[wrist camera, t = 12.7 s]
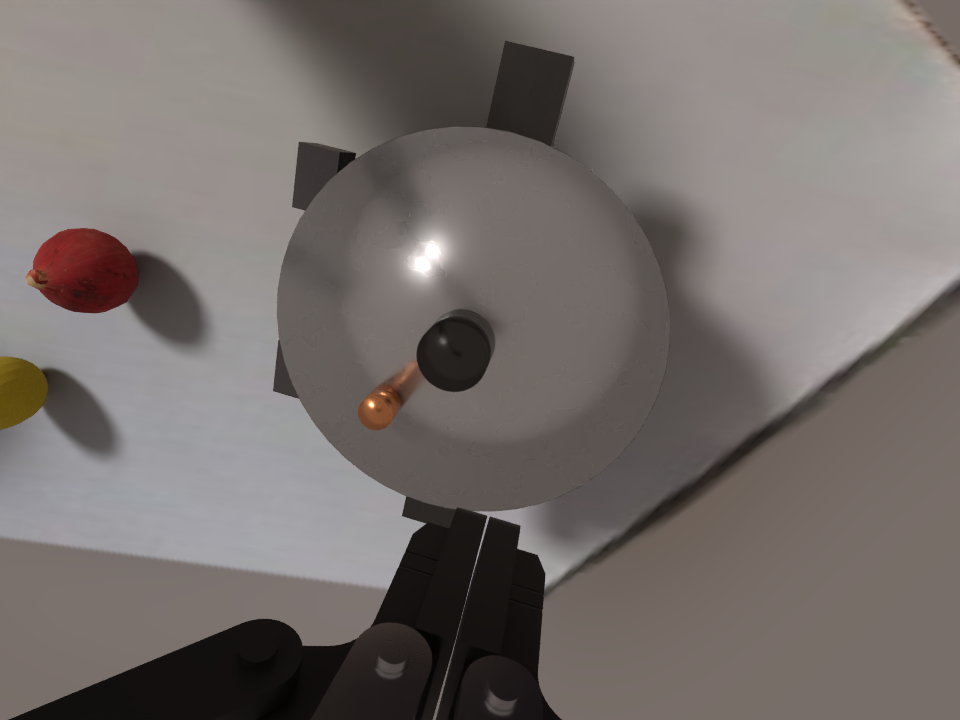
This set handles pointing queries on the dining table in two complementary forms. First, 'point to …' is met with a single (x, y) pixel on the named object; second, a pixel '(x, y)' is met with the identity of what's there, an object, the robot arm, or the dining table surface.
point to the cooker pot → (515, 108)
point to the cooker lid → (473, 319)
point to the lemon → (20, 390)
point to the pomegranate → (84, 271)
